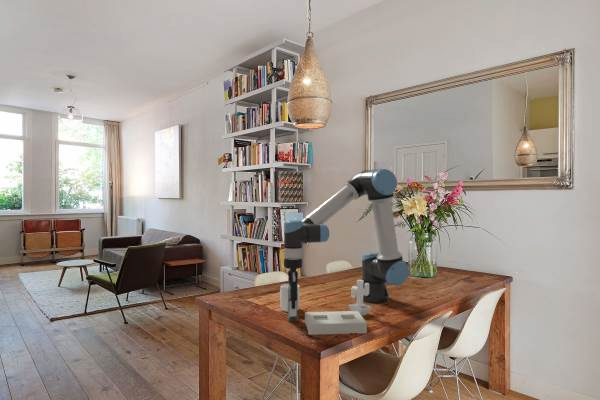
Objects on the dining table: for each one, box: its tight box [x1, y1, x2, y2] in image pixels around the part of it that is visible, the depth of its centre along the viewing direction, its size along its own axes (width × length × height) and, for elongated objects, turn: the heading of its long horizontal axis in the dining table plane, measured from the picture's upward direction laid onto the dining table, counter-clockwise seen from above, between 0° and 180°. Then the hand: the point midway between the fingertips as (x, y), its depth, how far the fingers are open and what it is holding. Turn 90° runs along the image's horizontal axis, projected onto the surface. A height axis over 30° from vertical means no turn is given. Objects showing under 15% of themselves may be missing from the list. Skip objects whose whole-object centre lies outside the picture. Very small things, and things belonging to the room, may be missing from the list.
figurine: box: [347, 279, 372, 317], centre depth 164 cm, size 7×9×15 cm
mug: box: [279, 283, 301, 313], centre depth 171 cm, size 9×12×11 cm
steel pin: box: [287, 286, 298, 323], centre depth 155 cm, size 4×4×14 cm
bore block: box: [304, 310, 368, 336], centre depth 147 cm, size 22×14×4 cm, turn 95°
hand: (292, 314), depth 155 cm, fingers closed on steel pin, 4 cm apart
